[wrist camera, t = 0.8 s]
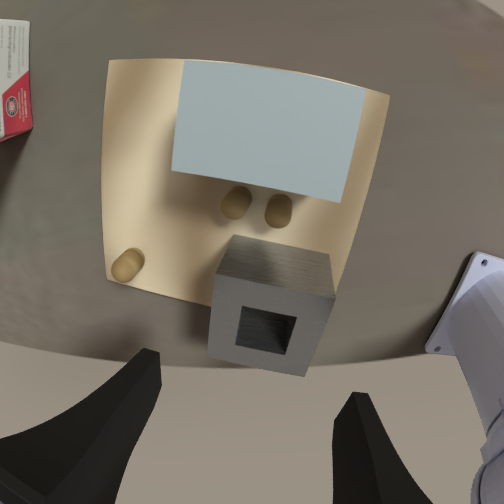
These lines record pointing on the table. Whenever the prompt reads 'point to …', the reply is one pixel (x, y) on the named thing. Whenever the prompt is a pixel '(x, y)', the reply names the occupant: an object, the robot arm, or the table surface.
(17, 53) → the ink box
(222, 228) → the plate
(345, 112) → the block
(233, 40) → the table surface
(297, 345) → the block
